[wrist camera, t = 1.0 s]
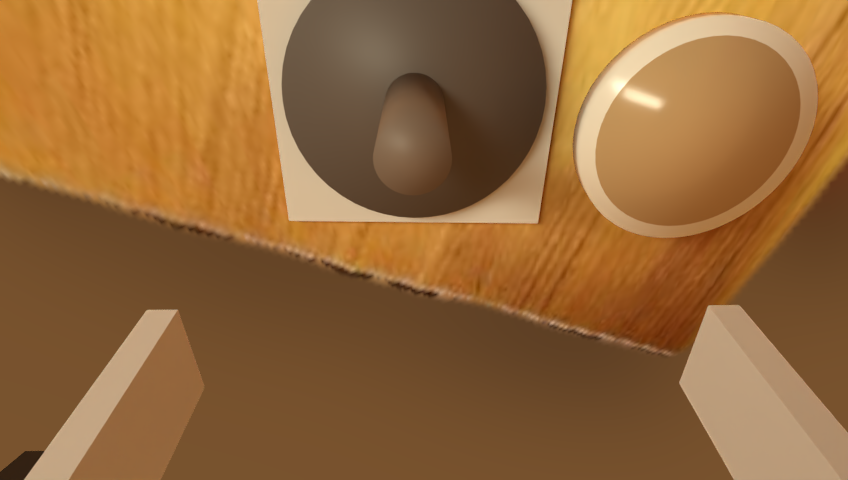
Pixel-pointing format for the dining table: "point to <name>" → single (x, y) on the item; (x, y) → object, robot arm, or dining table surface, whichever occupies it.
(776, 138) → the bowl
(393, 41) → the lid
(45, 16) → the dining table surface
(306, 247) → the dining table surface
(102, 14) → the dining table surface
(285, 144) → the mat
